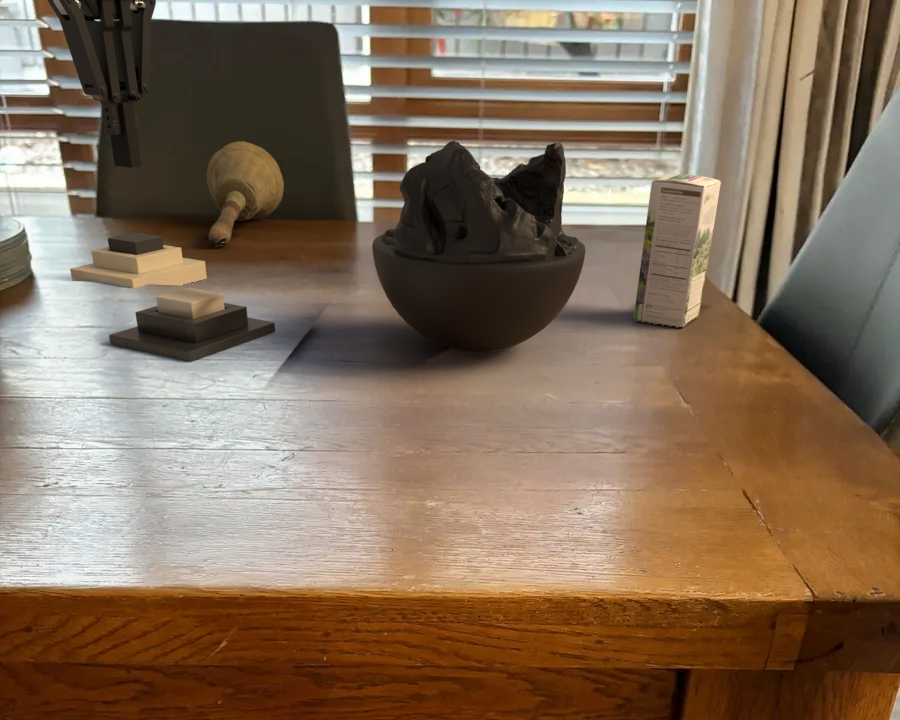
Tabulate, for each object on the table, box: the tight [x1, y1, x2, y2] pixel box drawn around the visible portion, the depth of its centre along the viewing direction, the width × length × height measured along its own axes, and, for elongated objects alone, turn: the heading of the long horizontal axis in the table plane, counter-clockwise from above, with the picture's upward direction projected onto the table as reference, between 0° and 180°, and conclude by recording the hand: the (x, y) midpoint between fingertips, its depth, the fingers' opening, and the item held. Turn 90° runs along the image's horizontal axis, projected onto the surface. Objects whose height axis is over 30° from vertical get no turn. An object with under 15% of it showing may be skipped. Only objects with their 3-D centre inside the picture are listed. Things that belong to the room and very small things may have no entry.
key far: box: [107, 232, 164, 255], centre depth 115 cm, size 4×4×2 cm
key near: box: [155, 287, 225, 319], centre depth 92 cm, size 4×4×2 cm
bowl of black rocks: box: [371, 140, 586, 353], centre depth 92 cm, size 20×20×19 cm
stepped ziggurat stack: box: [69, 244, 208, 289], centre depth 117 cm, size 12×10×4 cm
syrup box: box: [633, 173, 722, 328], centre depth 104 cm, size 6×6×14 cm
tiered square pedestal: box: [108, 302, 276, 363], centre depth 93 cm, size 12×10×4 cm
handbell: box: [206, 140, 285, 247], centre depth 143 cm, size 12×12×25 cm
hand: (128, 165), depth 111 cm, fingers closed
